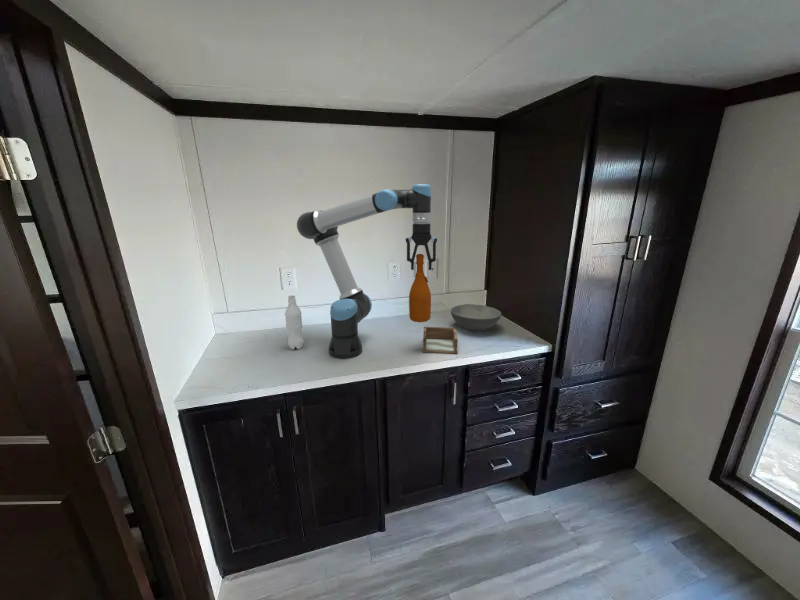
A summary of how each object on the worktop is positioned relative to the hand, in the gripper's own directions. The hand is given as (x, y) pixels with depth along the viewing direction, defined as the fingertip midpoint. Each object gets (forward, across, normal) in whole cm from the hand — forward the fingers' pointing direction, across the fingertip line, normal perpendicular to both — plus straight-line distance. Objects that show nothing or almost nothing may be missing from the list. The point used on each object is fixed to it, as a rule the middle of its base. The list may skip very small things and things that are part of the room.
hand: (421, 277), depth 151 cm
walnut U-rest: (+34, +9, +4) cm, 36 cm away
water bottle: (+33, -58, -5) cm, 67 cm away
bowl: (+35, +28, +29) cm, 53 cm away
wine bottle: (+20, 0, 0) cm, 20 cm away
